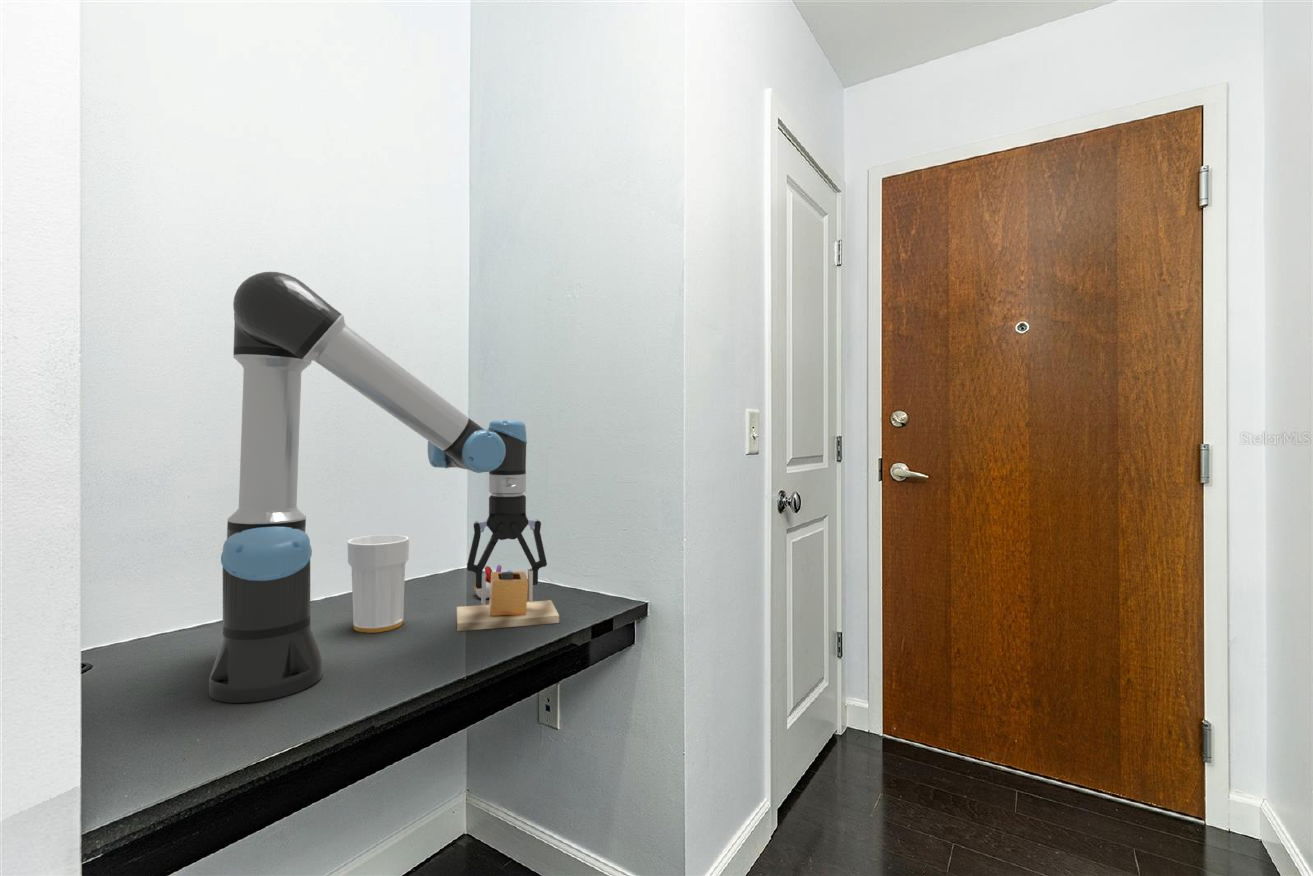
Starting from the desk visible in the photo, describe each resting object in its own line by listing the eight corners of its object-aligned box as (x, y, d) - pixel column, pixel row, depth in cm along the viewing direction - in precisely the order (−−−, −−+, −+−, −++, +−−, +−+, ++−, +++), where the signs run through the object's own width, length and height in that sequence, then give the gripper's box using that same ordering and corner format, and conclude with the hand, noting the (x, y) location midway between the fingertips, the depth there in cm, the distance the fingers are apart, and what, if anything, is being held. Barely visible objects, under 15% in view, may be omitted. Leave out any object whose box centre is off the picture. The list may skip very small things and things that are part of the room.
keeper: (456, 631, 125) (457, 583, 125) (456, 614, 136) (457, 569, 136) (559, 622, 131) (559, 576, 130) (551, 606, 142) (551, 564, 142)
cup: (416, 627, 127) (417, 540, 127) (356, 638, 120) (356, 546, 120) (398, 614, 136) (398, 532, 136) (340, 624, 129) (340, 538, 128)
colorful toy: (476, 591, 155) (476, 561, 155) (516, 590, 157) (516, 560, 157) (472, 601, 147) (472, 569, 147) (515, 599, 148) (515, 568, 148)
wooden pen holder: (490, 615, 129) (493, 581, 129) (489, 604, 136) (491, 571, 135) (525, 614, 131) (528, 581, 131) (522, 603, 138) (524, 571, 137)
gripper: (453, 497, 126) (452, 611, 127) (562, 495, 133) (561, 603, 133) (453, 493, 133) (453, 601, 134) (556, 491, 140) (556, 594, 140)
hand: (507, 602), depth 133 cm, fingers open, 9 cm apart
